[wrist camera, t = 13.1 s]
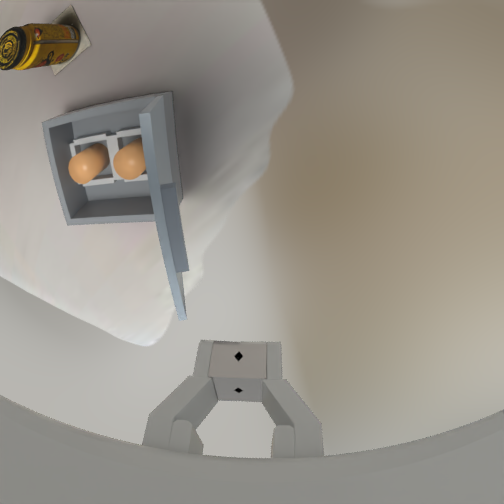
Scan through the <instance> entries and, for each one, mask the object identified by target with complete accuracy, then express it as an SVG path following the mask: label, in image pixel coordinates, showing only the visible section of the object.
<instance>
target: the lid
mask: <svg viewBox="0 0 504 504" xmlns="http://www.w3.org/2000/svg"><path fill="white" fill-rule="evenodd" d="M139 120H140V128H141V136H142V144H143V151H144V158H145V165H146V171H147V177H148V183H149V189H150V195H151V200H152V206H153V211H154V216H155V221H156V226H157V231H158V236H159V241H160V245H161V250H162V254H163V259H164V263H165V267H166V271H167V276H168V280H169V284H170V288H171V292H172V296H173V299H174V303H175V307H176V311H177V314H178V318H179V320H185V319H187V317H186V308H185V298H184V288H183V278H182V272H185V271H189V265H188V259H187V253H186V247H185V241H184V235H183V229H182V223H181V216H180V209H179V203H178V196H177V188H176V182H174V183H173V182H172V174H171V167H170V158H169V150H168V141H167V132H166V122H165V111H164V100H163V95H161V96H157V97H156V98H155V99H154V100H153V101H152V102H151V103H150V104H149V105H148V106H147V107H146V108H145V109H144V110H143V111H142V112H141V113H140V114H139Z"/></svg>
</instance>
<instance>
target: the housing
mask: <svg viewBox="0 0 504 504" xmlns="http://www.w3.org/2000/svg"><path fill="white" fill-rule="evenodd" d="M161 95H163V100H164V111H165V122H166V132H167V141H168V150H169V158H170V167H171V174H172V182H173V183H174V182H176V188H177V196H178V203H179V205H180V203H181V201H182V199H183V194H182V186H181V178H180V169H179V161H178V152H177V142H176V132H175V121H174V109H173V97H172V91H171V92H164V93H156V94H150V95H143V96H138V97H132V98H127V99H121V100H116V101H112V102H107V103H103V104H98V105H94V106H90V107H86V108H82V109H78V110H75V111H71V112H68V113H65V114H62V115H60V116H57V117H54V118H52V119H49V120H47V121H44V122H42V126H43V132H44V137H45V142H46V147H47V152H48V157H49V161H50V165H51V170H52V174H53V178H54V181H55V185H56V189H57V193H58V196H59V200H60V203H61V206H62V210H63V213H64V216H65V219H66V222H67V225H85V224H104V223H126V222H153V221H155V216H154V211H153V206H152V200H151V195H150V189H149V183H148V177H147V171H146V170H145V171H144V172H143V173H142V174H141V175H140V176H139V177H137V178H135V179H132V180H127V179H124V178H122V177H120V176H119V175H118V174H117V173H116V171H115V169H114V166H113V159H114V156H115V154H116V153H117V152H118V151H119V150H120V149H122V148H123V147H125V146H126V145H128V144H129V143H131V142H132V141H134V140H135V139H137V138H141V137H142V136H141V128H140V120H139V114H140V113H141V112H142V111H143V110H144V109H145V108H146V107H147V106H148V105H149V104H150V103H151V102H152V101H153V100H154V99H155V98H156V97H157V96H161ZM96 143H100V144H103V145H104V146H106V147H107V148H108V152H109V157H110V163H109V165H108V167H107V168H105V169H104V170H103V171H102V172H100V173H99V174H98V175H97V176H95V177H94V178H93V179H92V180H91V181H89V182H88V183H86V184H79V183H77V182H75V181H74V180H73V179H72V177H71V176H70V173H69V169H68V166H69V162H70V160H71V158H72V157H73V156H75V155H77V154H78V153H80V152H81V151H83V150H85V149H86V148H88V147H90V146H91V145H93V144H96Z"/></svg>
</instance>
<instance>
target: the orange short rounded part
mask: <svg viewBox="0 0 504 504" xmlns="http://www.w3.org/2000/svg"><path fill="white" fill-rule="evenodd" d="M113 166H114V169H115V171H116V173H117V174H118V175H119V176H120V177H122V178H124V179H127V180H132V179H135V178H137V177H139V176H140V175H141V174H142V173H143V172H144V171H145V170H146V165H145V158H144V151H143V144H142V137H141V138H137V139H135V140H134V141H132V142H131V143H129V144H128V145H126V146H125V147H123V148H122V149H120V150H119V151H118V152H117V153H116V154H115V156H114V159H113Z"/></svg>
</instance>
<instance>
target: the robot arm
mask: <svg viewBox="0 0 504 504" xmlns="http://www.w3.org/2000/svg"><path fill="white" fill-rule="evenodd" d="M218 400H222V401H249V402H250V401H251V402H262V404H263V405H264V407H265V409H266V410H267V412H268V413H269V415H270V417H271V418H272V420H273V421H274V423H275V424H276V427H275V428H274V432H273V439H272V446H271V458H236V457H221V456H209V455H203V443H202V441H201V439H200V438H199V436H198V434H197V432H196V428H197V427H198V426H199V425H200V424H201V422H202V421H203V420H204V419H205V418H206V416H207V415H208V414H209V413H210V411H211V410H212V409H213V407H214V406H215V405H216V404H217V402H218ZM0 504H504V410H502V411H499V412H497V413H495V414H492V415H490V416H488V417H485V418H483V419H480V420H478V421H475V422H472V423H470V424H467V425H464V426H461V427H459V428H456V429H453V430H450V431H446V432H443V433H440V434H437V435H434V436H430V437H426V438H423V439H419V440H415V441H411V442H407V443H403V444H398V445H393V446H389V447H384V448H378V449H373V450H367V451H361V452H354V453H346V454H339V455H328V456H324V448H323V437H322V425H321V422H320V421H319V419H318V418H317V417H316V416H315V415H314V414H313V412H312V411H311V410H310V408H309V407H308V406H307V405H306V404H305V402H304V401H303V400H302V399H301V397H300V396H299V395H298V394H297V392H296V391H295V390H294V388H293V387H292V386H291V385H290V383H289V382H288V381H287V380H286V379H282V354H281V342H229V341H213V340H201V341H200V343H199V347H198V352H197V357H196V362H195V367H194V372H193V376H188V377H187V378H186V380H184V381H183V382H182V383H181V384H180V385H179V386H178V387H177V388H176V389H175V390H174V391H173V392H172V393H171V394H170V395H169V396H168V397H167V398H166V399H165V400H164V401H163V402H162V403H161V404H160V405H159V406H157V407H156V408H155V409H154V410H153V411H152V412H151V413H150V414H149V417H148V421H147V426H146V430H145V434H144V438H143V443H142V445H139V444H134V443H130V442H126V441H121V440H118V439H114V438H110V437H106V436H103V435H99V434H96V433H93V432H89V431H86V430H83V429H80V428H77V427H74V426H71V425H68V424H65V423H63V422H60V421H57V420H55V419H52V418H50V417H47V416H45V415H42V414H40V413H37V412H35V411H33V410H30V409H28V408H26V407H24V406H22V405H19V404H17V403H15V402H13V401H11V400H9V399H7V398H5V397H3V396H1V395H0Z"/></svg>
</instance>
